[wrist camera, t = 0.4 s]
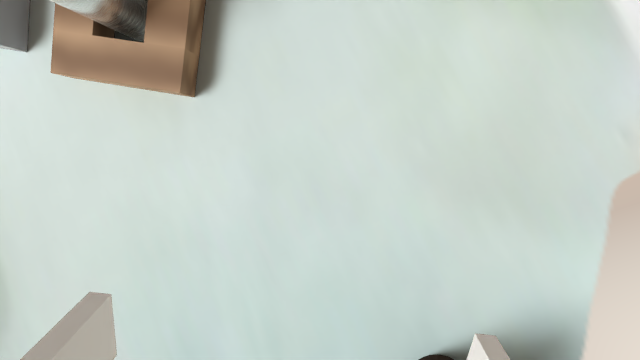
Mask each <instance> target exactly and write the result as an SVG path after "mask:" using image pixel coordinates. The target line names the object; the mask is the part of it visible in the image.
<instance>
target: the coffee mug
mask: <svg viewBox="0 0 640 360" xmlns="http://www.w3.org/2000/svg"><path fill="white" fill-rule="evenodd" d="M419 360H454V359H452V358H450V357H447V356H443V355H429V356H426V357H423V358H421V359H419Z"/></svg>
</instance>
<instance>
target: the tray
mask: <svg viewBox="0 0 640 360" xmlns="http://www.w3.org/2000/svg"><path fill="white" fill-rule="evenodd" d="M29 8H30V0H0V48H3V49H10V50H16V51H23V52H27V43H28V26H29Z"/></svg>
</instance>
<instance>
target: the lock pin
mask: <svg viewBox="0 0 640 360" xmlns="http://www.w3.org/2000/svg"><path fill="white" fill-rule="evenodd" d="M50 1H52V2H54V3H56V4H58V5H61V6H63V7H65V8H67V9H69V10H72V11H74V12H76V13H78V14H80V15H83V16H85V17H87V18H89V19H91V20H93V21H96V22H98V23H100V24H102V25H104V26H107V27H109V28H111V29H113V30H115V31H118V32H120V33H122V34H124V35H126V36H129V37H131V38H133V39H135V40H144V35H145V25H146V15H147V4H148V3H147V2H145V1H144V0H50Z"/></svg>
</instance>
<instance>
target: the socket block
mask: <svg viewBox="0 0 640 360" xmlns="http://www.w3.org/2000/svg"><path fill="white" fill-rule="evenodd" d="M205 2H206V0H148V4H147V15H146V25H145V35H144V43H142V42H135V41H128V40H121V39H114V33H115V30H113V29H111V28H109V27H107V26H104V25H102V24H100V23H98V22H96V21H93V20H91V19H89V18H87V17H85V16H83V15H80V14H78V13H76V12H74V11H72V10H69V9H67V8H65V7H63V6H61V5H58V4H56V3H55V14H54V29H53V45H52V60H51V73H54V74H58V75H63V76H67V77H72V78H76V79H83V80H89V81H95V82H102V83H108V84H114V85H120V86H127V87H133V88H139V89H146V90H152V91H158V92H164V93H171V94H177V95H183V96H190V97H195V88H196V79H197V71H198V62H199V54H200V45H201V36H202V28H203V19H204V11H205Z"/></svg>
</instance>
